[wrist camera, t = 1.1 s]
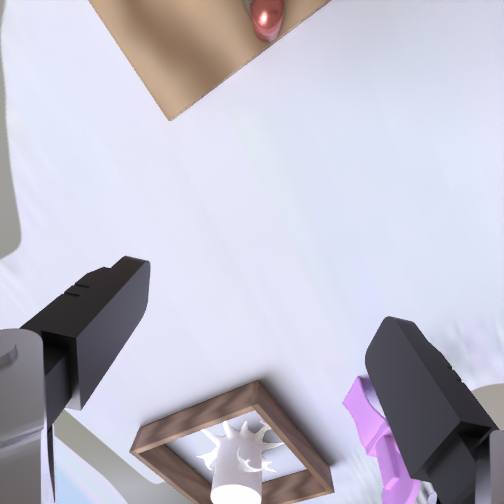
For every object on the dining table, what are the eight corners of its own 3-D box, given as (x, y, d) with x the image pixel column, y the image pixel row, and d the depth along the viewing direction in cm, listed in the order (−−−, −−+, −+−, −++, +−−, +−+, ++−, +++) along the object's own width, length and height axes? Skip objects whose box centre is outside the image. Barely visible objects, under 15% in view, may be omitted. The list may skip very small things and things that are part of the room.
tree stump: (310, 428, 48) (318, 482, 40) (268, 483, 55) (269, 538, 48) (201, 395, 46) (189, 447, 38) (173, 458, 53) (158, 511, 46)
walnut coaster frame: (258, 380, 43) (257, 403, 39) (329, 466, 51) (334, 492, 48) (139, 428, 49) (129, 452, 45) (220, 497, 58) (217, 522, 54)
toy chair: (390, 417, 45) (444, 543, 32) (339, 407, 45) (372, 530, 31) (414, 383, 42) (487, 507, 28) (359, 371, 41) (406, 492, 28)
